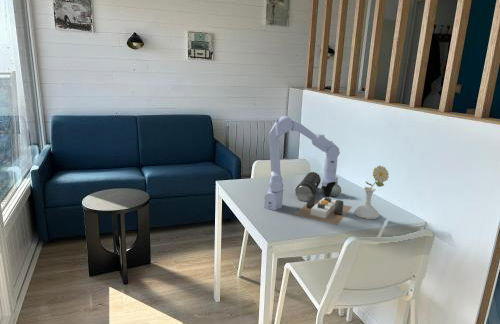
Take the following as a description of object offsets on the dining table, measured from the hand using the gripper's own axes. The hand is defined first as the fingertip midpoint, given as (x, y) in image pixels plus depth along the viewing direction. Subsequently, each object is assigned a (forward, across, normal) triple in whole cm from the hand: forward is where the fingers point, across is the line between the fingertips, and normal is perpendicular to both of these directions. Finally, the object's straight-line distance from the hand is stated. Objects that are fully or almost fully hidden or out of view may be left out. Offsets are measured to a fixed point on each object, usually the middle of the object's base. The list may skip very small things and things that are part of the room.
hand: (327, 196), depth 172 cm
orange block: (+3, -3, 0) cm, 4 cm away
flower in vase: (+7, +4, -19) cm, 21 cm away
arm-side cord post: (+6, -3, +7) cm, 10 cm away
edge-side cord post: (+6, -3, -7) cm, 10 cm away
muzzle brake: (+3, +16, +21) cm, 27 cm away
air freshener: (+7, +25, +5) cm, 26 cm away
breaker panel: (+7, -3, 0) cm, 8 cm away
